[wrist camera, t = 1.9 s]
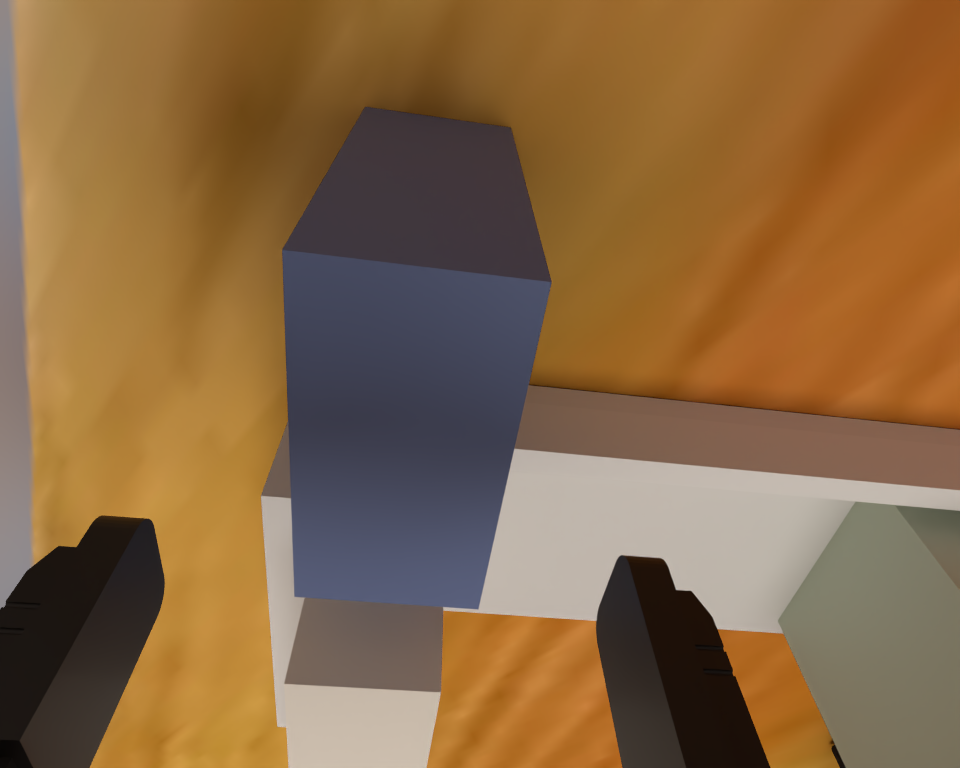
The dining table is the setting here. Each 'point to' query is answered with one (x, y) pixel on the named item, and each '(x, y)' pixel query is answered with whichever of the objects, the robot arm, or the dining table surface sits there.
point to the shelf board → (661, 504)
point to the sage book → (884, 636)
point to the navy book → (408, 358)
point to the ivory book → (363, 684)
